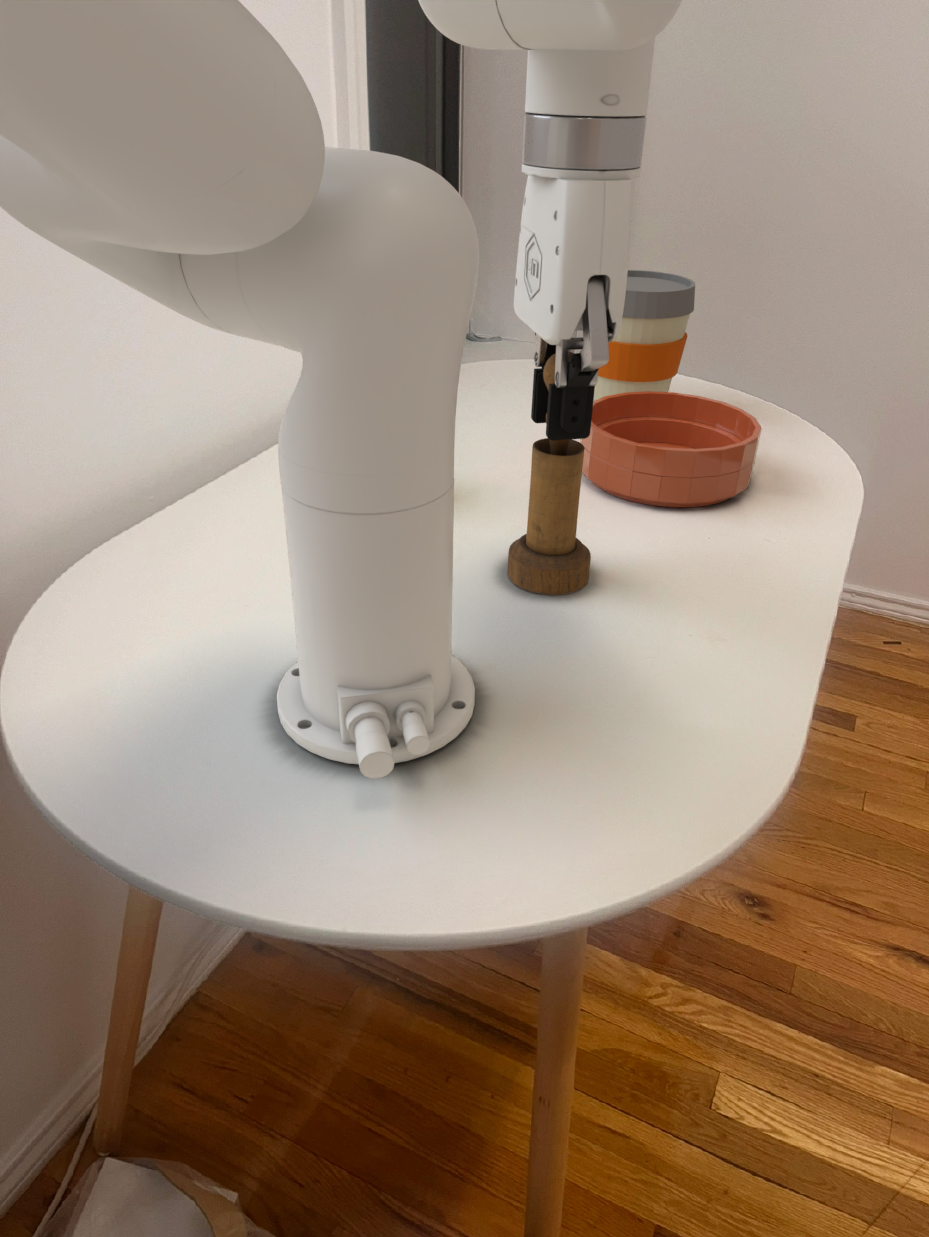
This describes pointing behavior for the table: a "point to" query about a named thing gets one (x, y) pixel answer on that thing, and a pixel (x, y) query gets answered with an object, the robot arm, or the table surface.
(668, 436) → the bowl
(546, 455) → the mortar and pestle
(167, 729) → the table surface
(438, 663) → the robot arm
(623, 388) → the reusable coffee cup
